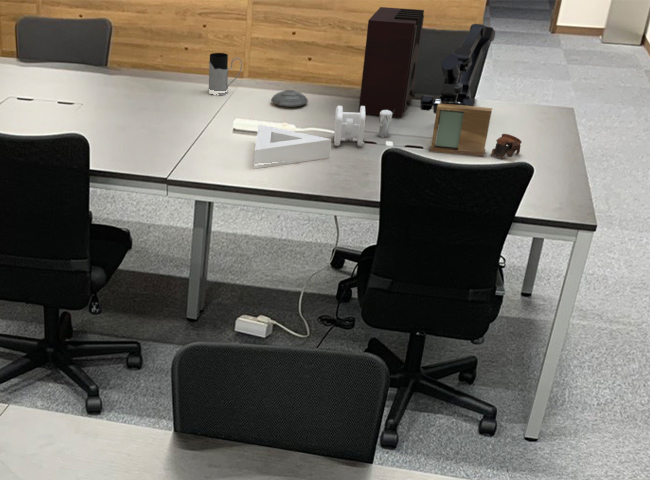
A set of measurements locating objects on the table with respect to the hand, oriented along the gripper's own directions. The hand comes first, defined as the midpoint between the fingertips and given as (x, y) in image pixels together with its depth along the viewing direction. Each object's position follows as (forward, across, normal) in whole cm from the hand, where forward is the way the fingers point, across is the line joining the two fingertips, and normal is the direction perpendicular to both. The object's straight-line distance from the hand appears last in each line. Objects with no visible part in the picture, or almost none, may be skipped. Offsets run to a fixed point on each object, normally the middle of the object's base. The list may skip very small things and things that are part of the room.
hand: (442, 126), depth 349 cm
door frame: (+8, +7, +2) cm, 11 cm away
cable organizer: (+10, -32, 0) cm, 34 cm away
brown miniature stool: (+7, +24, +3) cm, 25 cm away
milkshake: (+1, -21, +10) cm, 23 cm away
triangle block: (+24, -55, -13) cm, 61 cm away
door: (+5, +4, +3) cm, 7 cm away
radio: (-26, -26, +36) cm, 52 cm away
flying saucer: (-20, -65, +30) cm, 75 cm away
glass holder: (-26, -95, +36) cm, 105 cm away
